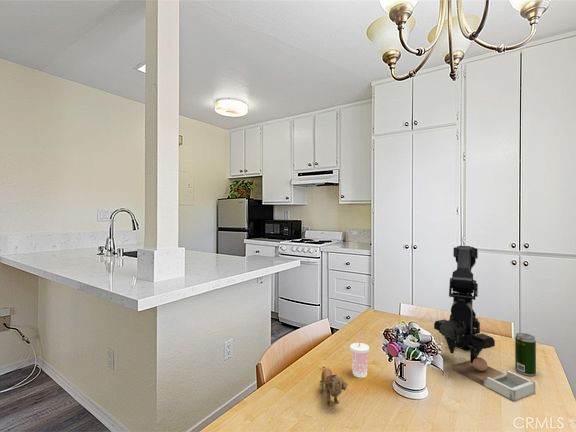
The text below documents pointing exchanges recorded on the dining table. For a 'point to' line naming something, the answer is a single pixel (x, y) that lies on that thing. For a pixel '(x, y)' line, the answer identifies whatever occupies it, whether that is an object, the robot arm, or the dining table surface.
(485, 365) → the ball
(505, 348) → the dining table surface
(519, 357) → the beer can
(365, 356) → the beverage cup
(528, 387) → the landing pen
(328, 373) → the lion figurine
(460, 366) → the runway
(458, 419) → the dining table surface
